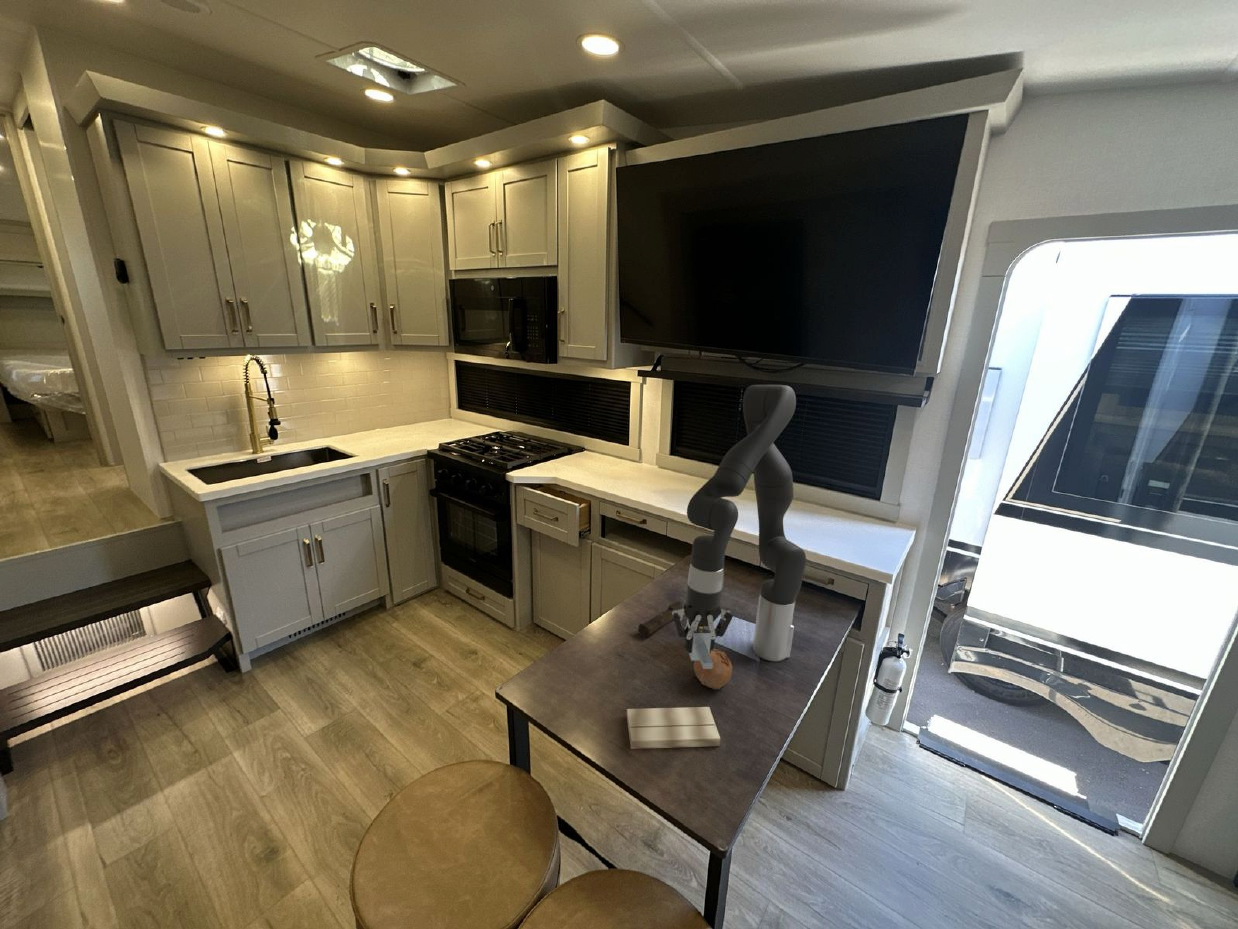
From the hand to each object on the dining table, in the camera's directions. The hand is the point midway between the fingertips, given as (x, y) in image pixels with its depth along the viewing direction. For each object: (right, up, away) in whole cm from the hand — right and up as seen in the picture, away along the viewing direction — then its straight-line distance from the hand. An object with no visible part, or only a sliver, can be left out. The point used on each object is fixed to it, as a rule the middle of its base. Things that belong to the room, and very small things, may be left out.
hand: (698, 650), depth 112 cm
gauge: (0, -2, -3) cm, 3 cm away
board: (-6, -16, -4) cm, 18 cm away
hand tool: (-5, -6, +36) cm, 37 cm away
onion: (+5, -13, +12) cm, 18 cm away
